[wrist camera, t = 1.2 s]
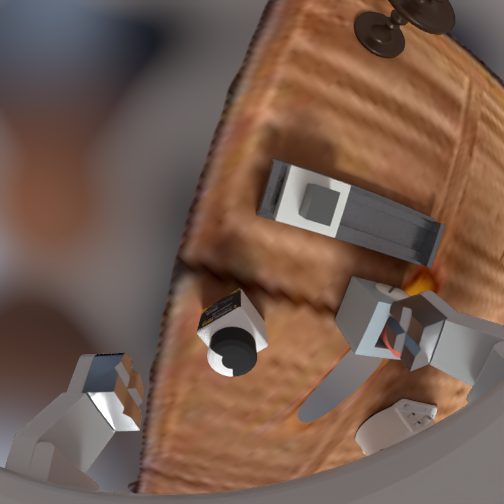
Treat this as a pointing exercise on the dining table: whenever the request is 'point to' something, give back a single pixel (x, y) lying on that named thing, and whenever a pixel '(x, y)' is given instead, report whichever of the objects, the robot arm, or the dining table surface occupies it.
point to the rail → (369, 221)
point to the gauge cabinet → (367, 316)
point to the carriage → (311, 201)
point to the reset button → (384, 339)
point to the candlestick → (406, 10)
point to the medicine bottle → (232, 334)
